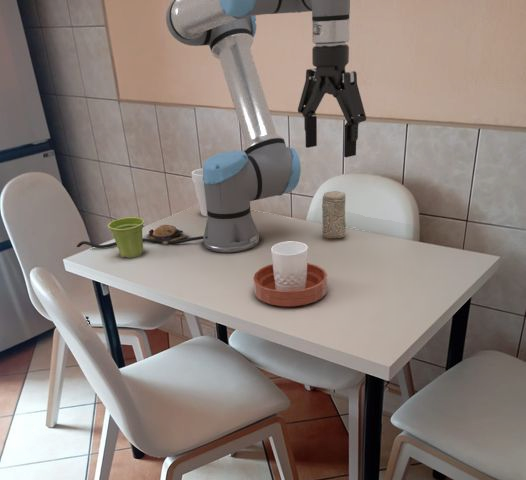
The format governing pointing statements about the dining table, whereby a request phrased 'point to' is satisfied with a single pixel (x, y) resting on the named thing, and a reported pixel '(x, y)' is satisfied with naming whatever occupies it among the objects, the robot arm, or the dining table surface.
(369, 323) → the dining table surface
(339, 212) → the carving
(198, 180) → the foam cup
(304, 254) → the white cup
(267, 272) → the bowl
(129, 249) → the plant pot
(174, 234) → the brown domed piece
